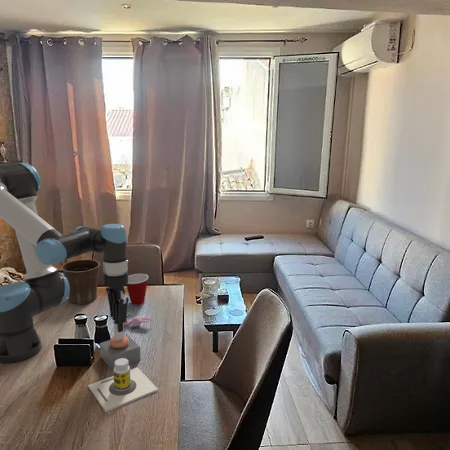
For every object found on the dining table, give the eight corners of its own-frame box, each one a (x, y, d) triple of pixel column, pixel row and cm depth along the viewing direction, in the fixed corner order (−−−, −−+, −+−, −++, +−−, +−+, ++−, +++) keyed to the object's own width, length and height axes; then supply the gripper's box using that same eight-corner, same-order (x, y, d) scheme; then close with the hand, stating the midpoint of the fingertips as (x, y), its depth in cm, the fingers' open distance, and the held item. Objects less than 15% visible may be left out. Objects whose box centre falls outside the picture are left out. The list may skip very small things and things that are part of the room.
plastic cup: (123, 299, 185) (122, 274, 182) (147, 296, 188) (147, 272, 185) (125, 309, 175) (124, 283, 172) (150, 306, 178) (150, 280, 175)
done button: (115, 360, 133) (114, 346, 132) (108, 352, 138) (107, 338, 137) (132, 354, 137) (131, 340, 135) (124, 347, 141) (124, 333, 140)
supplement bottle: (111, 390, 120) (110, 365, 118) (118, 381, 124) (116, 356, 122) (127, 392, 119) (125, 366, 117) (133, 382, 123) (132, 358, 121)
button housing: (111, 370, 131) (111, 356, 130) (100, 356, 139) (99, 343, 137) (140, 360, 137) (139, 346, 136) (128, 347, 144) (127, 334, 143)
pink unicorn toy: (113, 331, 159) (149, 329, 156) (110, 317, 158) (147, 314, 155) (120, 323, 165) (155, 321, 162) (117, 310, 164) (152, 307, 161)
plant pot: (101, 304, 179) (99, 269, 175) (62, 308, 175) (59, 272, 171) (102, 290, 194) (100, 258, 190) (66, 293, 190) (63, 260, 186)
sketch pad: (105, 412, 112) (105, 410, 111) (88, 386, 122) (88, 384, 122) (157, 390, 121) (157, 388, 121) (137, 368, 132) (137, 366, 132)
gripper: (135, 275, 128) (138, 343, 133) (118, 264, 138) (122, 328, 143) (112, 280, 123) (116, 350, 129) (97, 268, 133) (101, 334, 139)
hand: (119, 338), depth 136 cm, fingers closed
